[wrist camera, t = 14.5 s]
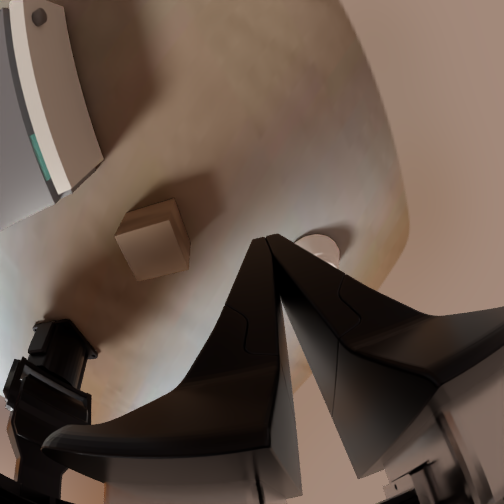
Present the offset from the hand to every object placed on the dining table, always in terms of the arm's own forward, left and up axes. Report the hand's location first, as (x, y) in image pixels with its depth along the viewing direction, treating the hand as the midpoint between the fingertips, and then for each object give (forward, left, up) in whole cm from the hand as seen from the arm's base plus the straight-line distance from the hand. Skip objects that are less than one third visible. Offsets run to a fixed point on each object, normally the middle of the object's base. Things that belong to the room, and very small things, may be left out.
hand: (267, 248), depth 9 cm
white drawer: (+9, +15, -12) cm, 21 cm away
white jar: (-10, -4, -12) cm, 17 cm away
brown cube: (-4, +7, -12) cm, 14 cm away
